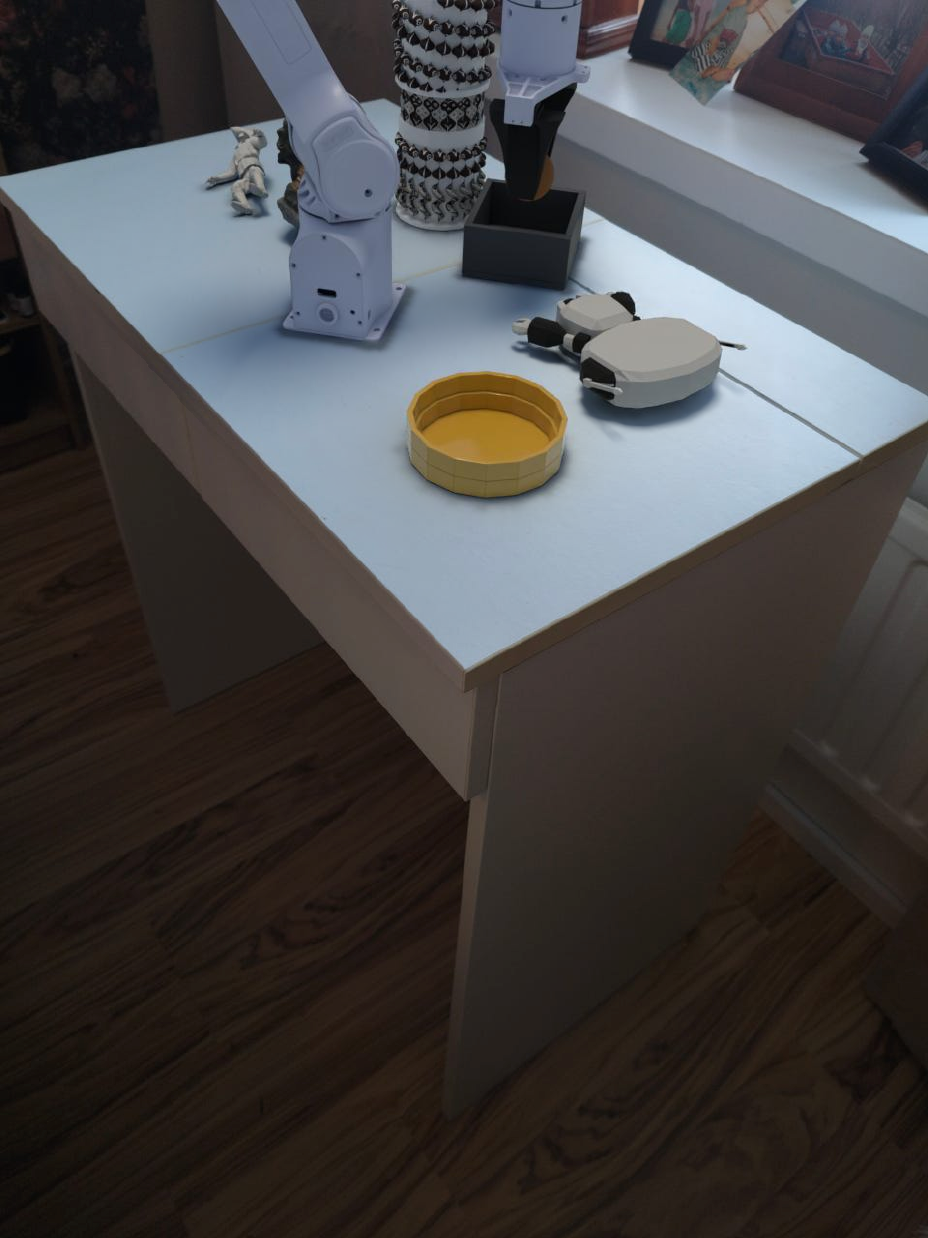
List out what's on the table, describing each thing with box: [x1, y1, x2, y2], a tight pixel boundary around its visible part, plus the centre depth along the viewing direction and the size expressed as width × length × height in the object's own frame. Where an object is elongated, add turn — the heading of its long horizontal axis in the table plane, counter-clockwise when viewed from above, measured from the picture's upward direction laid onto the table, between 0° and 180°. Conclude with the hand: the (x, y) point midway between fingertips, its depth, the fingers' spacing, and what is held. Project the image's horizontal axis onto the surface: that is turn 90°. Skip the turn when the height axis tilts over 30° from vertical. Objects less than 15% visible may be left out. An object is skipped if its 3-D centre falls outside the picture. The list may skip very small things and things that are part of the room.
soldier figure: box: [204, 126, 269, 215], centre depth 98 cm, size 8×5×12 cm
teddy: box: [504, 155, 555, 201], centre depth 81 cm, size 4×4×7 cm
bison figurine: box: [275, 116, 305, 231], centre depth 88 cm, size 12×7×10 cm, turn 36°
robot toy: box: [511, 290, 748, 409], centre depth 78 cm, size 12×4×15 cm
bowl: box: [406, 370, 569, 499], centre depth 70 cm, size 11×11×3 cm
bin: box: [461, 177, 587, 291], centre depth 90 cm, size 10×9×5 cm
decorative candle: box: [390, 0, 500, 232], centre depth 89 cm, size 9×9×25 cm
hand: (526, 186), depth 82 cm, fingers closed on teddy, 4 cm apart
